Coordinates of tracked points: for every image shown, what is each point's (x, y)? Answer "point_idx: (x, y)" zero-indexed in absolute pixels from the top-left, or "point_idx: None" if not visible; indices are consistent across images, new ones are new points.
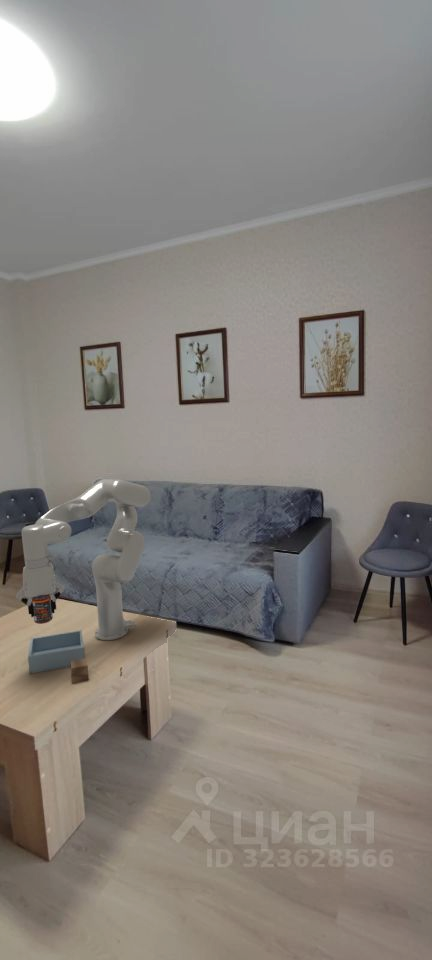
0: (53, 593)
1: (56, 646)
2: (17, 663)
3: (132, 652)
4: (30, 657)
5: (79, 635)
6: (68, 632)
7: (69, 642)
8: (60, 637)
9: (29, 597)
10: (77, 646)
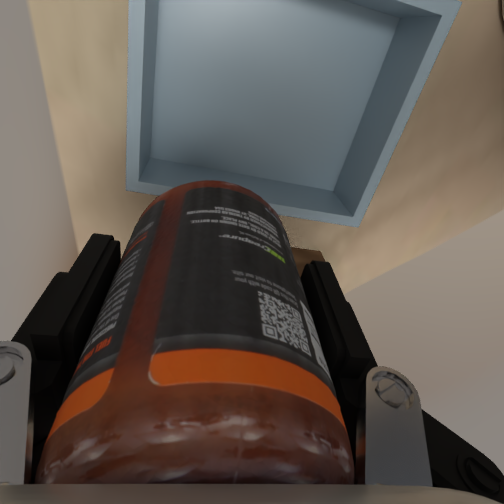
0: (409, 476)
1: None
2: (76, 16)
3: (490, 208)
4: (137, 191)
5: (425, 15)
6: None
7: (358, 1)
8: None
9: None
10: (377, 39)
